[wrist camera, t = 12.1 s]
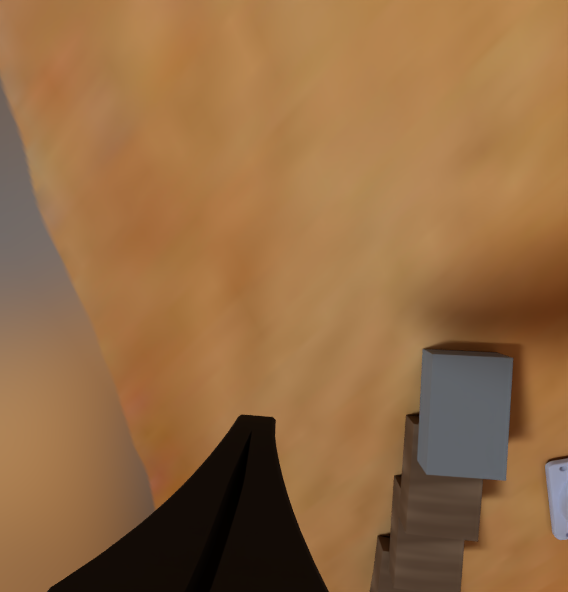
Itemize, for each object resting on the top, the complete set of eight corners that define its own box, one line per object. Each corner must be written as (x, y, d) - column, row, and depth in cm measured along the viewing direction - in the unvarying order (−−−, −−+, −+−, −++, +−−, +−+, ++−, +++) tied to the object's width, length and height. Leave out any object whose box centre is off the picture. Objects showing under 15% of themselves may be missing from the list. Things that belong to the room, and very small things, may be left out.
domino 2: (400, 488, 23) (394, 588, 23) (467, 494, 22) (460, 595, 23) (394, 475, 24) (388, 568, 25) (456, 480, 24) (450, 575, 24)
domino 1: (414, 424, 21) (405, 533, 21) (487, 430, 21) (477, 541, 21) (406, 414, 23) (398, 516, 23) (473, 420, 22) (465, 523, 23)
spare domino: (432, 353, 19) (426, 474, 19) (513, 358, 19) (505, 480, 19) (422, 349, 21) (417, 460, 21) (496, 352, 20) (490, 465, 21)
